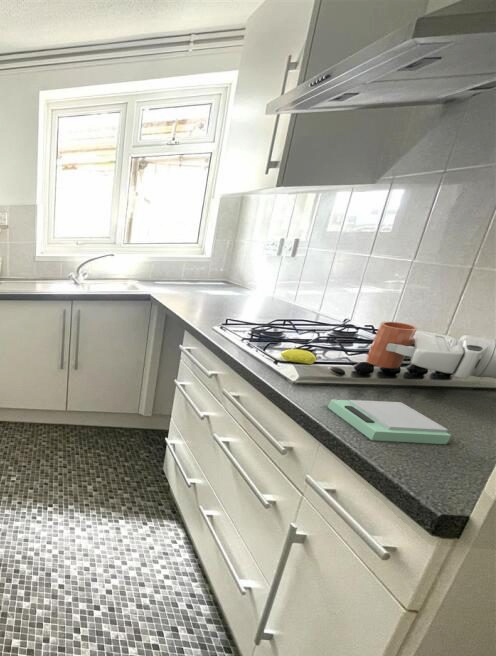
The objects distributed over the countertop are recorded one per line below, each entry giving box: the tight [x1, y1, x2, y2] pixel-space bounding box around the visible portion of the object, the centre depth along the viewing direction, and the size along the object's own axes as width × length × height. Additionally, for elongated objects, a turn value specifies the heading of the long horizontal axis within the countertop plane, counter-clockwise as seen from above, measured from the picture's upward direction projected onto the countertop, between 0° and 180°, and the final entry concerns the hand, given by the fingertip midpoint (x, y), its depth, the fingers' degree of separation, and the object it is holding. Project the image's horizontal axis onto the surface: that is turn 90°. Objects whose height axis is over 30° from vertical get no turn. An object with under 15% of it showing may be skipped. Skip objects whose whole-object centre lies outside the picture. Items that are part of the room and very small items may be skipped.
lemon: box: [280, 348, 317, 365], centre depth 114 cm, size 4×8×4 cm, turn 58°
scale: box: [327, 399, 452, 445], centre depth 83 cm, size 13×13×3 cm
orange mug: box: [365, 321, 419, 369], centre depth 104 cm, size 7×7×10 cm
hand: (386, 341), depth 104 cm, fingers closed on orange mug, 7 cm apart
